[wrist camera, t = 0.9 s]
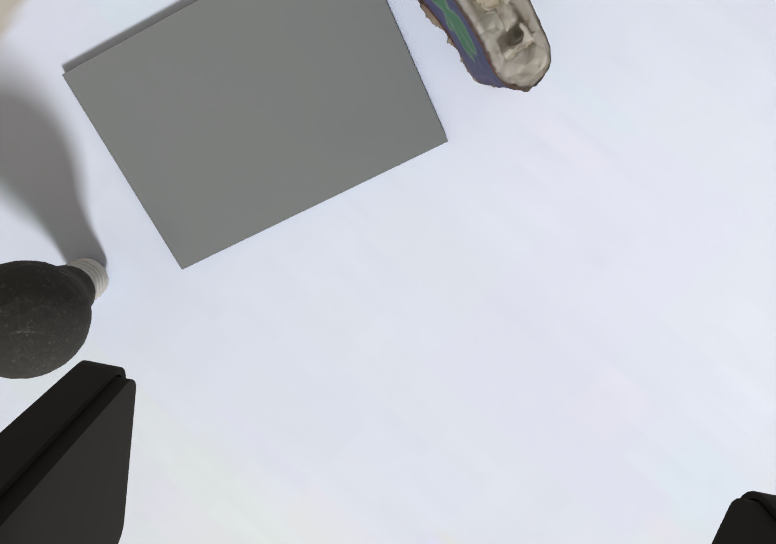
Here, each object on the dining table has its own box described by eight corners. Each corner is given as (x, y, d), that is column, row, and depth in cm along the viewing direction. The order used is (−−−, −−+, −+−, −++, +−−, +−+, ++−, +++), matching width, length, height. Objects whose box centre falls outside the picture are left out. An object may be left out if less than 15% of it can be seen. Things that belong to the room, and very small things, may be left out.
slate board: (349, -81, 30) (349, -83, 29) (447, 140, 33) (448, 141, 33) (65, 74, 32) (61, 74, 32) (184, 267, 35) (182, 269, 35)
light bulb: (29, 241, 35) (-105, 302, 25) (118, 216, 34) (16, 268, 25) (70, 327, 37) (-41, 414, 27) (156, 304, 36) (73, 384, 27)
